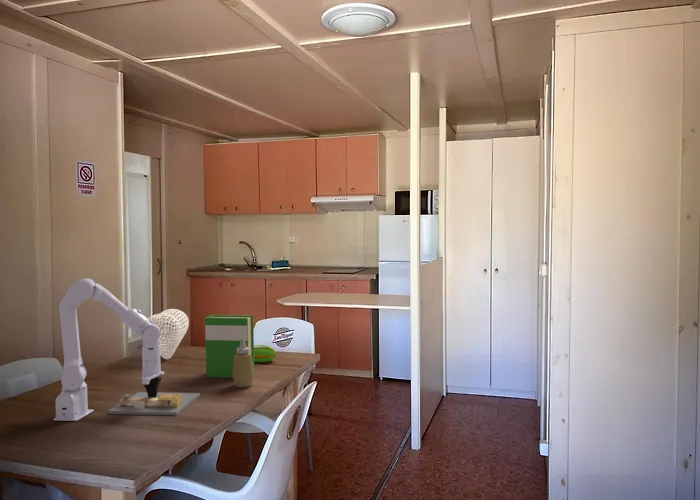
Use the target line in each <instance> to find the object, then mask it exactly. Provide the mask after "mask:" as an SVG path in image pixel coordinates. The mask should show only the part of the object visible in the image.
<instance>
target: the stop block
mask: <svg viewBox="0 0 700 500" xmlns="http://www.w3.org/2000/svg"><path fill="white" fill-rule="evenodd" d="M143 408H145V401H136V402H134V409H143Z"/></svg>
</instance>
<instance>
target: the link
mask: <svg viewBox="0 0 700 500" xmlns="http://www.w3.org/2000/svg"><path fill="white" fill-rule="evenodd" d="M136 401H145V406H159V407H168V406H169V405H170V404H171V400H158V398H155V397H131V396H130V394H124V395H122V398H120V399H119V404H120V406H134V402H136Z"/></svg>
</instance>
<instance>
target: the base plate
mask: <svg viewBox="0 0 700 500" xmlns="http://www.w3.org/2000/svg"><path fill="white" fill-rule="evenodd" d="M162 394H182V405H180V406H179V407H178V408H172V403H171V404H170V405H169V406H168V407H159V406H145V408H143V409H134V406H120V403H118V404H117V405H115V406H113V407H112V408H110V409H108V411H107V412H108V413H107V414H108V415H110V414H111V415H143V416H144V415H147V416H148V415H151V416H152V415H153V416H154V415H155V416H156V415H157V416H178V415H179V414H180V413H181V412H183V411H184V410H185V409H186V408H187V407H188V406H190V405H191V404H192V403H193V402H195V401H196V400H198V399H199V398H200V397H201V393H200V392H159V391H157V397H156V398H158V397H160V396H161V395H162ZM130 397H148V394H147V391H138V392H136V393H135V394H132V395H131V396H130Z"/></svg>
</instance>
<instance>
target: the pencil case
mask: <svg viewBox="0 0 700 500" xmlns="http://www.w3.org/2000/svg"><path fill="white" fill-rule="evenodd" d="M276 357H277V351H276V350H275V349H274V348H273V347H271V346H269V345H264V344H254V364H256V363H257V364H259V363H260V364H262V363H264V364H265V363H269V362H271V361H273V360H274V359H275V358H276Z"/></svg>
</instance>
